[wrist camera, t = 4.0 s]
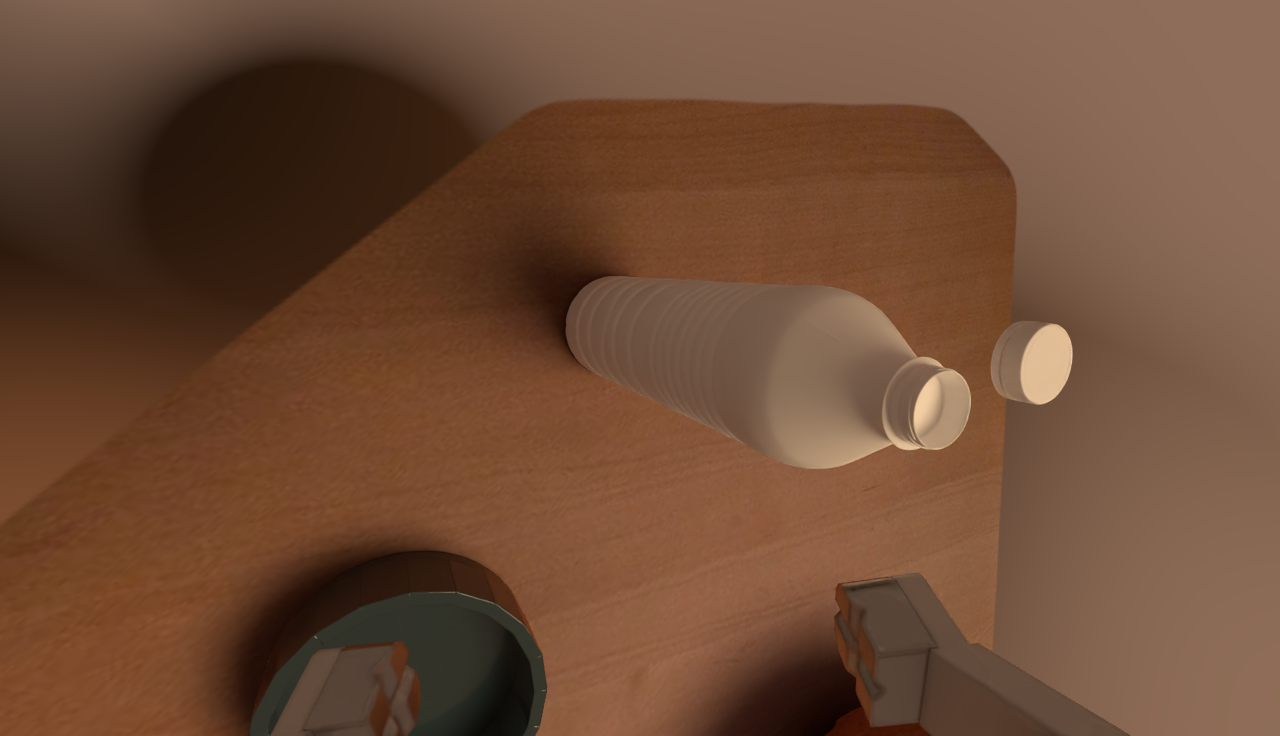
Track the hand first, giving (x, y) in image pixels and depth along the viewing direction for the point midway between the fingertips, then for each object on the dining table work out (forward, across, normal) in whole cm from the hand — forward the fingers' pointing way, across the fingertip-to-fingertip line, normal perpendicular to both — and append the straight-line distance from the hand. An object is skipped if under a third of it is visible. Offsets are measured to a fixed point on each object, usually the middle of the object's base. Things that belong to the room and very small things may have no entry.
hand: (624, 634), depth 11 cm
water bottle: (+29, -1, +4) cm, 29 cm away
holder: (+18, +15, +21) cm, 32 cm away
